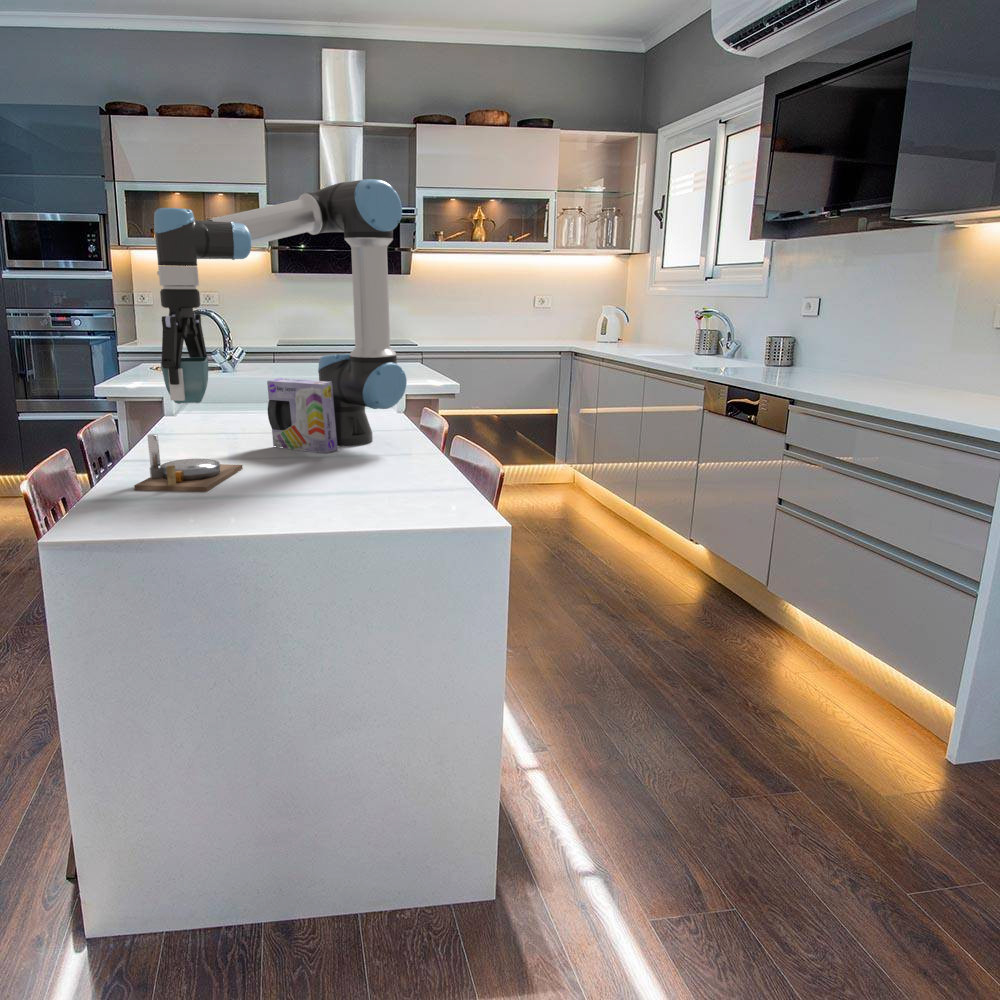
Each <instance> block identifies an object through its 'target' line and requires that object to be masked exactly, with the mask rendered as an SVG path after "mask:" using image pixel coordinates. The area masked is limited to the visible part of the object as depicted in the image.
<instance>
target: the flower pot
mask: <svg viewBox="0 0 1000 1000" xmlns="http://www.w3.org/2000/svg"><path fill="white" fill-rule="evenodd" d="M160 366H161V372H162V375H163V380H164V385H165V387H166V390H167V392H168V394H169V395H170V387H169V376H168V368H163V367H162V361H160ZM180 368H182V369H183V381H184V393H185V400H184V401H174V400H172V401H173V402H174V403H175V404H177V405H181V404H193V403H195V404H199V403H202V400H203V399H204V396H205V394H206V391H207V388H208V383H209V382H208V380H209V357H208V356H207V357H190V356H189V357H181V363H180Z"/></svg>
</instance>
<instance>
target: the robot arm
mask: <svg viewBox="0 0 1000 1000" xmlns="http://www.w3.org/2000/svg"><path fill="white" fill-rule="evenodd" d="M153 214H154V215H153V224H154V225H153V227H154V230H153V233H154V235H155V236H154V238H155V247H156V248H155V249H156V255H157V266H158V270H157V272H156V274H157V276H158V279H159V286H161V287H162V288H163V289H162V288H161V289H160V291H159V293H160V305H161V307H162V308H163V309H164V308H165V309H169V310H168V311H169V312H168V316H167V315H166V316H165V315H164V316H161V325H162V341H161V347H162V348H161V362H162V367H163V368H168V376H169V387H170V394H169V396H170V397H169V398H170V401H173V400H174V401H184V400H185V393H184V381H183V369H182V368H180V363H181V358H182V355H183V350H184V349H183V348H184V344H185V347H186V350H187V353H188V355H189V357H208V355H207V350H206V349H207V348H206V343H205V339H204V333H203V332H204V331H203V327H202V317H201V314H200V313H194V309H198V308H200V306H201V298H200V291H199V289H197V287H198V286H200V283H199V282H200V281H199V271H198V270H199V269H198V260H232V261H235V260H245V259H246V258H248V256H249V255H250V254H251V250H252V246H255V245H260V244H264V243H267V242H272V241H275V240H280V239H284V238H288V237H293V236H297V235H301V234H305V233H308V234H310V235H312V236H314V235H319V234H322V233H323V234H324V233H343V237H344V241H346V243H347V244H348V245H349V246H350V248H351V249H350V250H351V251H350V252H351V273H352V274H351V275H352V277H351V278H352V297H353V298H352V299H353V314H354V315H353V320H354V324H353V326H354V341H355V343H354V345H355V347H354V348H353V350H352V351H351V352H350V353H340V354H339V353H338V354H328V355H323V356H321V357H320V358H319V359H318V367H317V368H318V369H317V372H318V381H325V382H332V388H333V400H334V412H335V424H336V436H337V447H348V446H351V447H352V446H359V445H365V444H370V443H371V442H373V439H374V438H373V431H372V428H371V424H370V423H369V420H368V419H369V418H368V415H367V414H366V413H367V412H366V408H369V409H372V410H377V409H378V410H389V409H391V408H393V407H395V406H396V405H397V404H398V403H399V402H400V400H402V399H403V396H404V395H405V392H406V389H407V375H406V373H405V371H404V370H403V368H402V367H401V366H400V365H399V364H398V360H397V357H398V356H397V353H396V351H395V350H394V349H393V348H392V347H391V333H390V331H391V330H390V304H389V303H390V302H389V276H388V275H389V274H388V273H389V269H388V267H389V266H388V247H389V245H390V244H391V243H392V242H393V241H394V230H395V229H396V228H397V226H398V225H399V223H400V222H401V219H402V216H403V207H402V202H401V199H400V196H399V194H398V192H397V191H396V190H395V189H394V187H393V186H392V185H391V184H389V183H388V182H387V181H384V180H382V179H371V178H367V179H366V178H364V179H359V180H353V181H344V182H338V183H335V184H332V185H331V184H330V185H329V186H326V187H324V188H321V189H317V190H314V191H310V192H307V193H302V194H301V195H299V197H298V199H295V200H291V201H287V202H283V203H281V202H280V203H277V204H272V205H268V206H264V207H259V208H254V209H250V210H249V209H248V210H245V211H240V212H235V213H231V214H226V215H222V216H218V217H213V218H208V219H205V220H198V219H196V218H195V216H194V212H193V211H192V210H191V209H190V208H189V209H188V208H182V207H181V208H179V207H160V208H157V209H156V210H155V211H154V213H153ZM162 367H161V368H162ZM174 401H173V402H174Z"/></svg>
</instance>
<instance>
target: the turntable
mask: <svg viewBox="0 0 1000 1000" xmlns="http://www.w3.org/2000/svg"><path fill="white" fill-rule="evenodd" d="M147 445H148V453H149V454H148V457H149V464H150V465H149V466H150V467H149V474H150V475H149V478H150V477H151V478H161V477H163V478H166V479H167V468H166V466H168V465H175V475H176V482H182V481H183V480H195V479H203V478H209V477H213V476H216V475H218V474H219V473H220V464H221V463H220V461H219V460H215V459H212V458H211V459H208V458H187V459H186V458H185V459H178V460H177V459H176V460H173V461H172V460H171V461H169V462H168V461H167V462H164V463H162V464H161V458H160V457H161V456H160V445H159V435H158V434H157V433H156V434H155V433H153V434H147Z"/></svg>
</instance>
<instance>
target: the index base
mask: <svg viewBox="0 0 1000 1000" xmlns="http://www.w3.org/2000/svg"><path fill="white" fill-rule="evenodd" d="M166 468H167V479H166V478H163V477H161V478H151V477H150V476H149V477H148V478H145V479H144V480H142V481H140V482H138V483H136V484H134V485H133V486H134V491H157V492H158V491H159V492H161V491H162V492H203V493H207V492H209V491H210V490H212V489H213V488H215V487H216V486H219V485H220V484H222V483H223V482H225V481H226V480H228V479H229V478H230V477H233V476H235V475H236V474H237V473H239V472H240V471H242V470H243V464H225V463H224V464H223V463H222V464H221V463H220V473H219V474H218V475H216V476H213V477H209V478H203V479H195V480H183V481H182V482H176V475H175V465H168V466H166ZM241 469H242V470H241ZM238 471H239V472H238Z"/></svg>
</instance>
